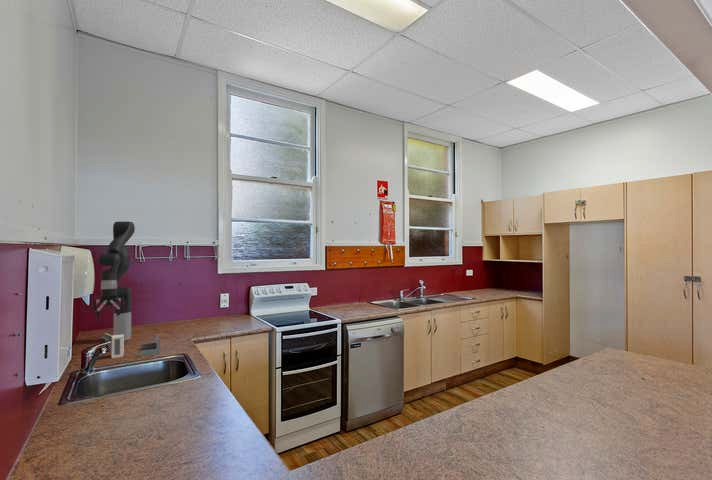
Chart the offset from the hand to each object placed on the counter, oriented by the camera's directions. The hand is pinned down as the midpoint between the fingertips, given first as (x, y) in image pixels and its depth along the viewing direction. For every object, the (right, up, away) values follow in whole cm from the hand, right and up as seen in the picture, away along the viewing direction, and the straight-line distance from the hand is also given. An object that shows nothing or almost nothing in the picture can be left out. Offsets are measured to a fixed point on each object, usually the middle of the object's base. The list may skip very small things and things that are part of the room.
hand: (108, 316), depth 195 cm
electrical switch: (-1, -20, +2) cm, 20 cm away
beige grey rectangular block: (+10, -20, -8) cm, 24 cm away
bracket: (+23, -20, 0) cm, 30 cm away
